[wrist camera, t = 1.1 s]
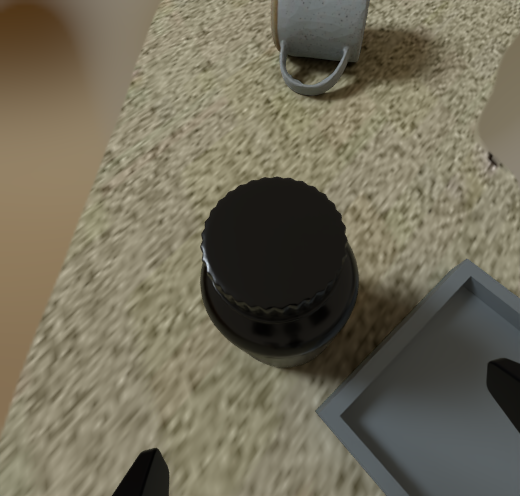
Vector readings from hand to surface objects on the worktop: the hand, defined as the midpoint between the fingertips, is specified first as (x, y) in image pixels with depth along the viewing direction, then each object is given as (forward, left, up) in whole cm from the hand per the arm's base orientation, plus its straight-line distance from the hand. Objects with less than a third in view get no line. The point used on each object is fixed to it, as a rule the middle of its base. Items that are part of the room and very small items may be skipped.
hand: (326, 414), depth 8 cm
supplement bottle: (+5, -2, -12) cm, 13 cm away
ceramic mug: (+20, -22, -12) cm, 32 cm away
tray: (-7, -6, -12) cm, 15 cm away
